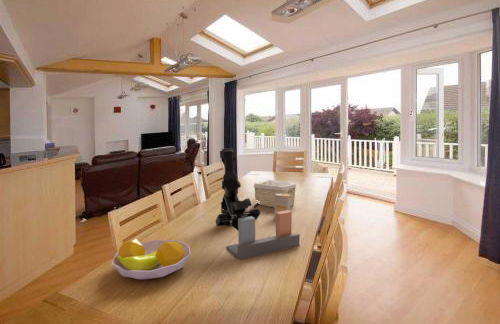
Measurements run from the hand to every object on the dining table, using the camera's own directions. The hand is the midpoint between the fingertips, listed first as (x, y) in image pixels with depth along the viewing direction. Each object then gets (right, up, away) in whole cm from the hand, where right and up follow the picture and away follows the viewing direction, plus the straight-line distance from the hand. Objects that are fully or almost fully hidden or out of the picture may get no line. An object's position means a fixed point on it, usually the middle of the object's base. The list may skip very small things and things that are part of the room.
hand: (244, 235), depth 119 cm
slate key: (+1, -5, -1) cm, 6 cm away
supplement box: (+21, -2, +46) cm, 50 cm away
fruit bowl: (-33, -9, -14) cm, 37 cm away
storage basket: (+18, +1, +74) cm, 76 cm away
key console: (+8, -6, +5) cm, 11 cm away
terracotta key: (+16, -4, +7) cm, 18 cm away
